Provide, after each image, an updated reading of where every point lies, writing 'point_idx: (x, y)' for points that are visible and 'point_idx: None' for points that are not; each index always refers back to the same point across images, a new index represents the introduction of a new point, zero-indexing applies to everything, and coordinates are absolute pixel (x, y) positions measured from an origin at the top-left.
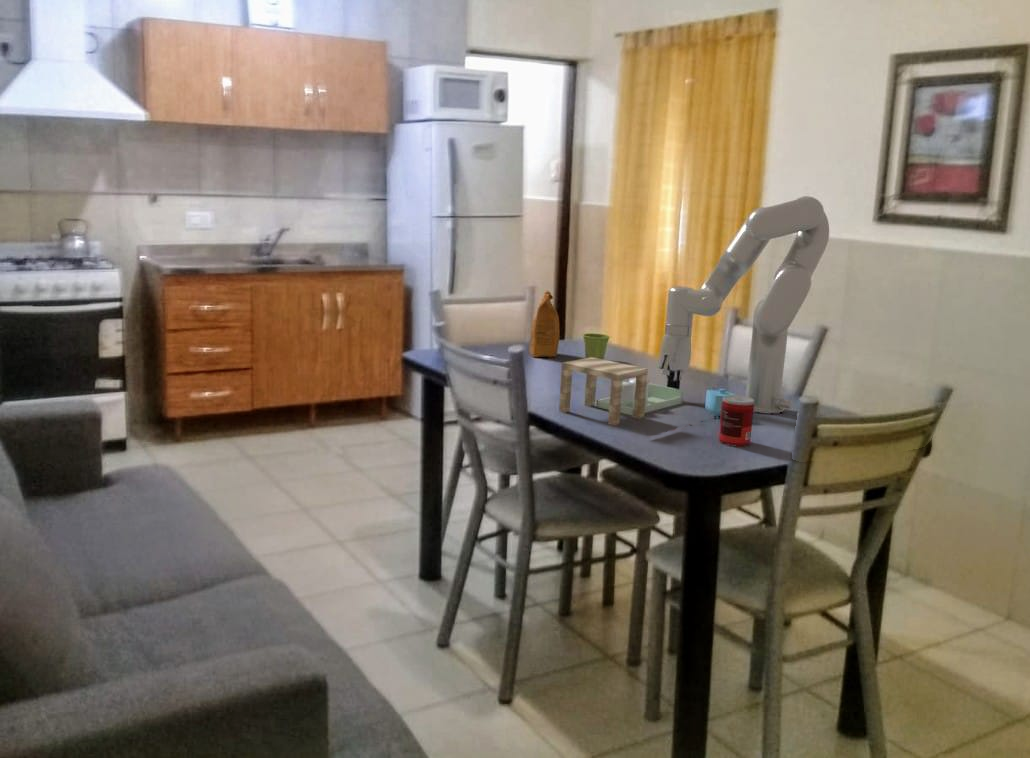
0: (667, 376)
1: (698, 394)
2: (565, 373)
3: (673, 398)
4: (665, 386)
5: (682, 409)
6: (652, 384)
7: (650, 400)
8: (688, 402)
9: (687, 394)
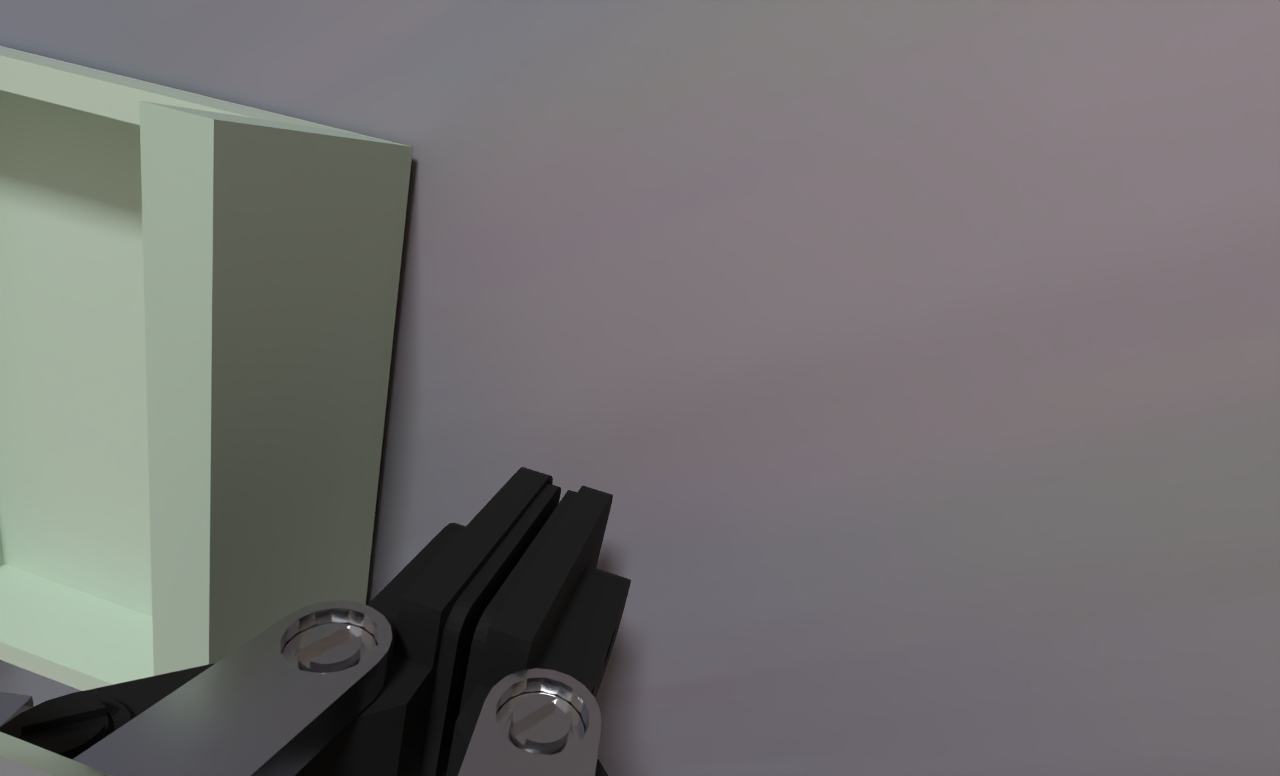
0: (162, 689)
1: (1241, 749)
2: None
3: (97, 681)
4: (210, 565)
5: None
6: (146, 301)
7: (130, 341)
8: (597, 700)
9: (1130, 612)
